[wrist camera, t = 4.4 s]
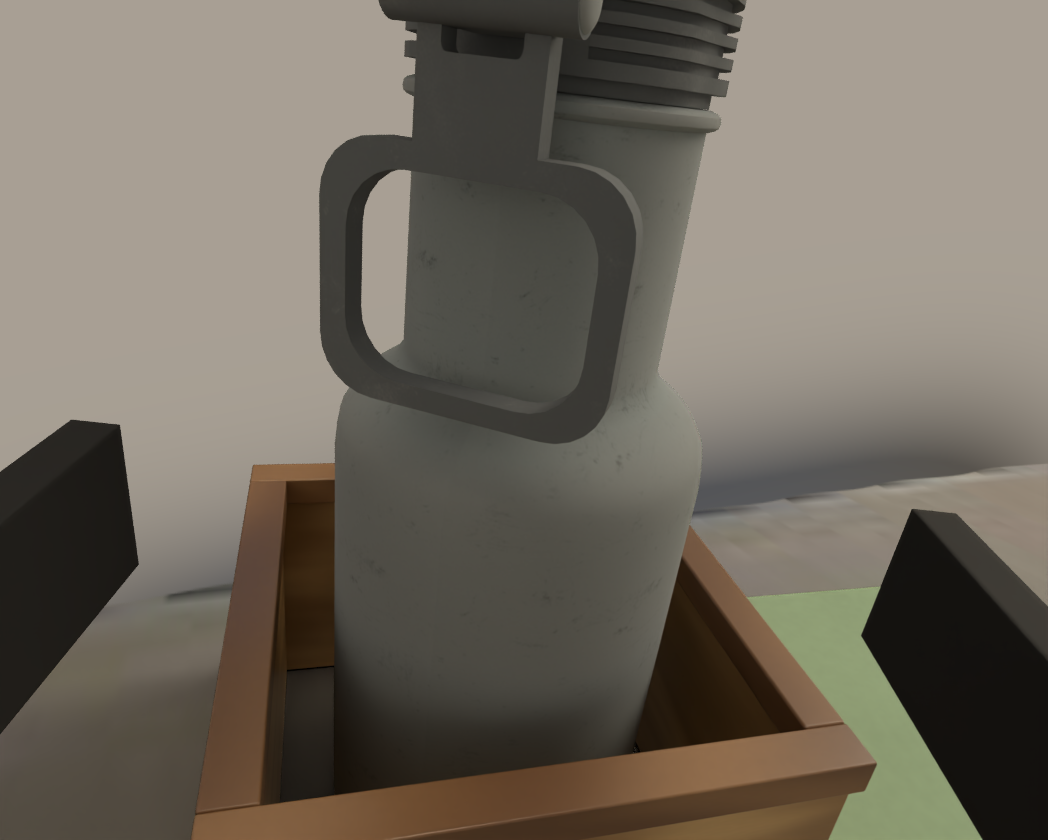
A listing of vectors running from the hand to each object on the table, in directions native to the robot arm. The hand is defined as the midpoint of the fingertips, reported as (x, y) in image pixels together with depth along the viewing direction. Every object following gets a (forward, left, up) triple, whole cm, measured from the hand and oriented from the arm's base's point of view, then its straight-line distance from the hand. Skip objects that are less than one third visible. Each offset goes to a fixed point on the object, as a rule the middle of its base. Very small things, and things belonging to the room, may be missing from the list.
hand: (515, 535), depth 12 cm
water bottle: (-2, -7, -16) cm, 17 cm away
